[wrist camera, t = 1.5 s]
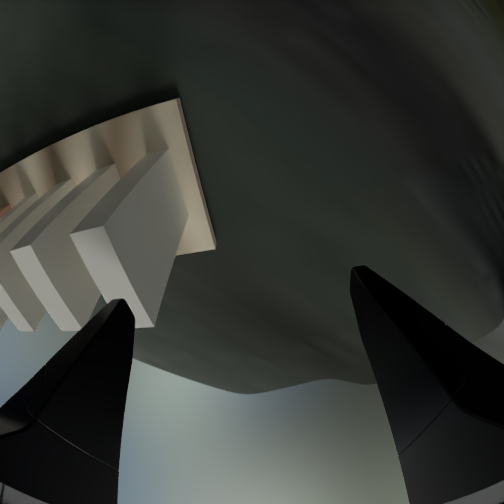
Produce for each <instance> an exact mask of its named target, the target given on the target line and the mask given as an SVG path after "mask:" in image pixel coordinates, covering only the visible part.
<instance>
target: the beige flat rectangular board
mask: <svg viewBox="0 0 504 504" xmlns="http://www.w3.org/2000/svg"><path fill="white" fill-rule="evenodd" d="M168 148H169V150H170V153H171V157H172V161H173V164H174V168H175V171H176V175H177V178H178V182H179V185H180V189H181V192H182V195H183V199H184V202H185V206H186V209H187V212H188V216H189V217H188V220H187V223H186V225H185V228H184V231H183V234H182V237H181V240H180V243H179V246H178V249H177V252H176V255H181V254H187V253H194V252H200V251H206V250H213V249H215V248H216V238H215V235H214V231H213V227H212V224H211V220H210V216H209V213H208V209H207V205H206V201H205V198H204V194H203V190H202V186H201V182H200V179H199V175H198V171H197V167H196V163H195V159H194V155H193V151H192V147H191V143H190V139H189V135H188V131H187V127H186V123H185V118H184V114H183V110H182V106H181V102H180V98H177V99H173V100H169V101H166V102H162V103H159V104H155V105H152V106H149V107H146V108H143V109H139V110H136V111H133V112H130V113H127V114H124V115H122V116H119V117H116V118H113V119H111V120H108V121H105V122H103V123H100V124H98V125H95V126H93V127H90V128H88V129H85V130H83V131H80V132H78V133H76V134H74V135H71V136H69V137H67V138H65V139H62V140H60V141H58V142H56V143H54V144H52V145H50V146H48V147H46V148H44V149H42V150H40V151H38V152H36V153H34V154H32V155H30V156H28V157H27V158H25V159H23V160H21V161H19V162H17V163H16V164H14V165H12V166H10V167H9V168H7V169H5V170H4V171H2V172H0V209H1V208H3V207H5V206H7V205H10V207H11V209H12V208H13V207H14V206H15V205H16V204H18V203H19V202H20V201H21V200H22V199H24V198H25V197H27V196H29V195H32V194H34V193H36V192H37V195H38V197H39V198H40V197H41V196H43V195H44V194H45V193H46V192H47V191H49V190H50V189H51V188H52V187H54V186H55V185H56V184H58V183H61V182H64V181H66V180H69V179H72V182H73V185H74V187H76V186H77V185H78V184H80V183H81V182H82V181H83V180H84V179H85V178H87V177H88V176H89V175H90V174H92V173H93V172H94V171H95V170H97V169H100V168H103V167H106V166H109V165H112V164H116V167H117V170H118V173H119V176H120V179H121V178H122V177H123V176H124V175H125V174H126V173H127V172H128V171H129V170H130V169H131V168H132V167H133V166H134V165H135V164H136V163H137V162H139V161H140V160H141V159H142V158H143V157H144V156H145V155H146V154H149V153H153V152H156V151H160V150H164V149H168Z"/></svg>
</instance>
